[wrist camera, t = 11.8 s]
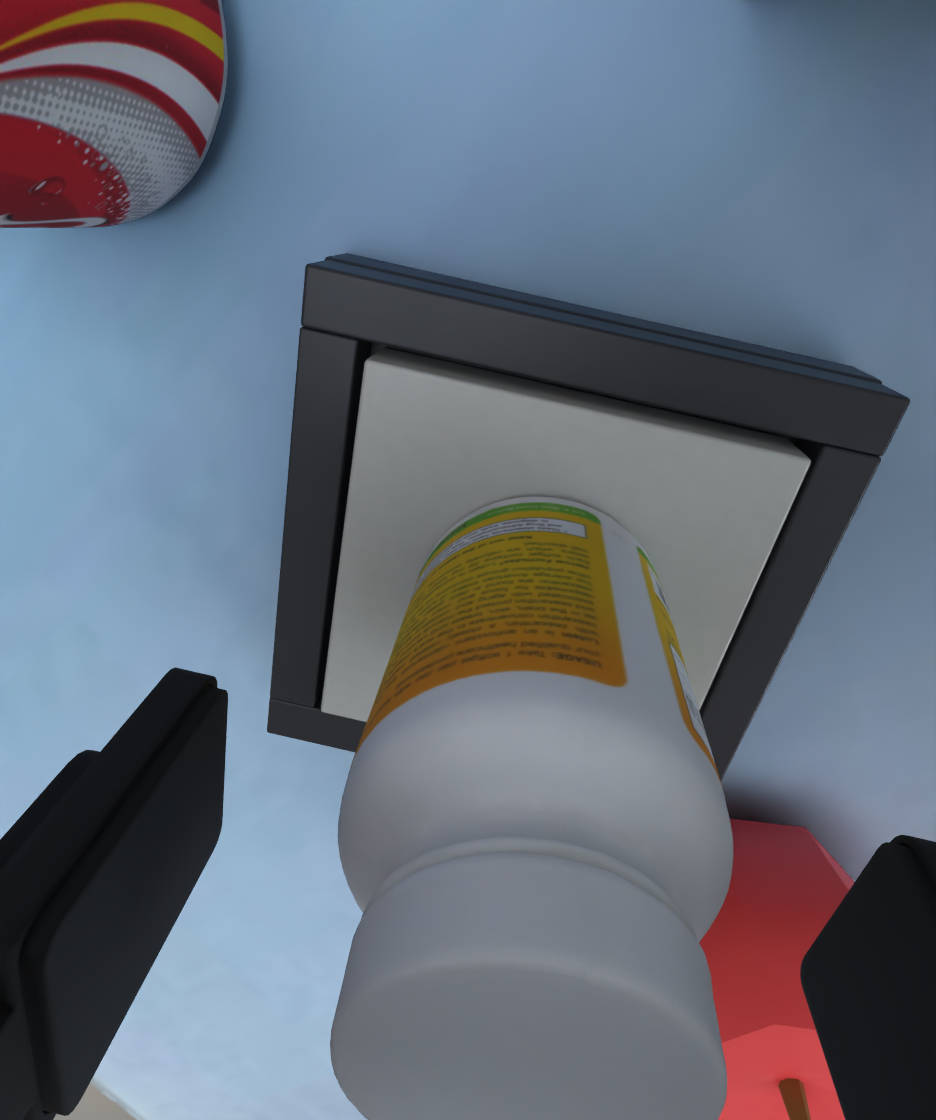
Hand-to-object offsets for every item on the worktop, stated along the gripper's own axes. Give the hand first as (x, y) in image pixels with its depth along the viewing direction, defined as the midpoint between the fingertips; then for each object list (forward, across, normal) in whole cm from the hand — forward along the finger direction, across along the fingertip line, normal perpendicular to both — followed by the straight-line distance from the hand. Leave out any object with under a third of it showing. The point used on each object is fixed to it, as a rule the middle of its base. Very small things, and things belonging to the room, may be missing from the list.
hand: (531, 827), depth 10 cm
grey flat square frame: (+10, 0, 0) cm, 10 cm away
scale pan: (+8, 0, 0) cm, 8 cm away
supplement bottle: (+7, 0, 0) cm, 7 cm away
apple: (+10, -9, +10) cm, 17 cm away
